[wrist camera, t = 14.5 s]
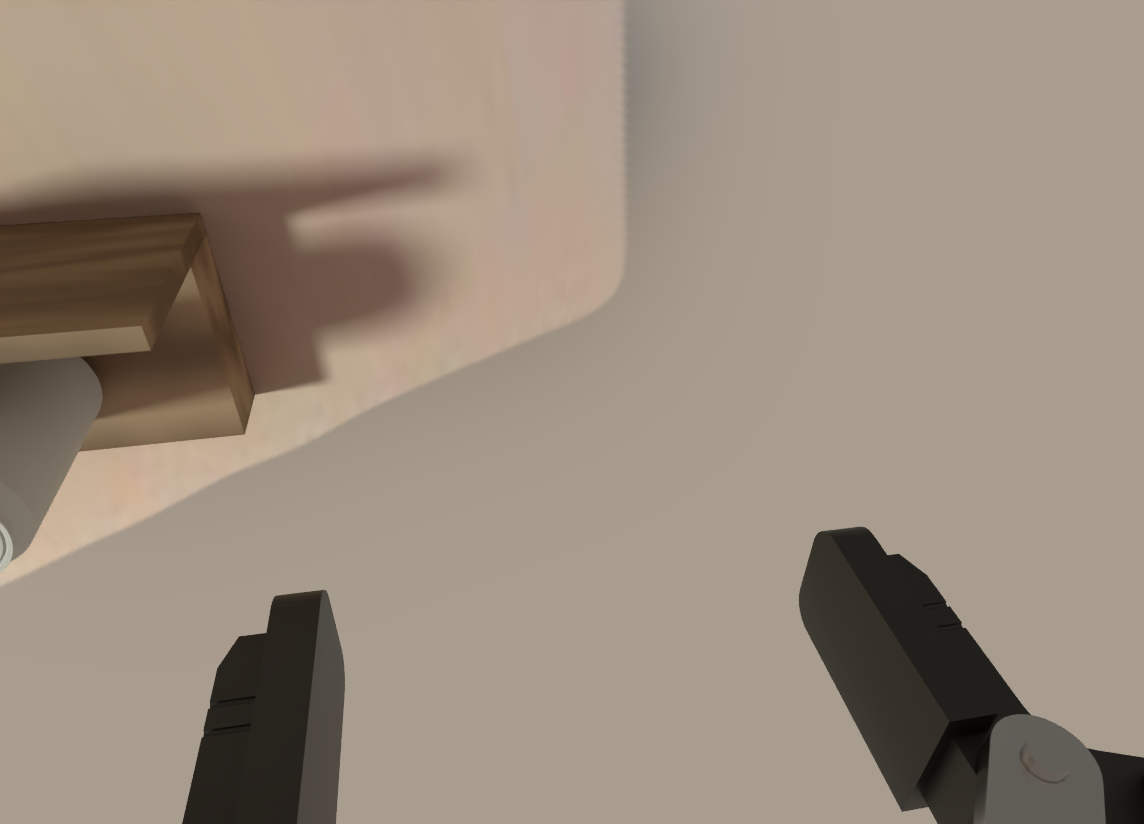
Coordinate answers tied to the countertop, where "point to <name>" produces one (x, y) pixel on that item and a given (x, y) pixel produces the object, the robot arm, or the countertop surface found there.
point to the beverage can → (39, 440)
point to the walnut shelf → (129, 323)
